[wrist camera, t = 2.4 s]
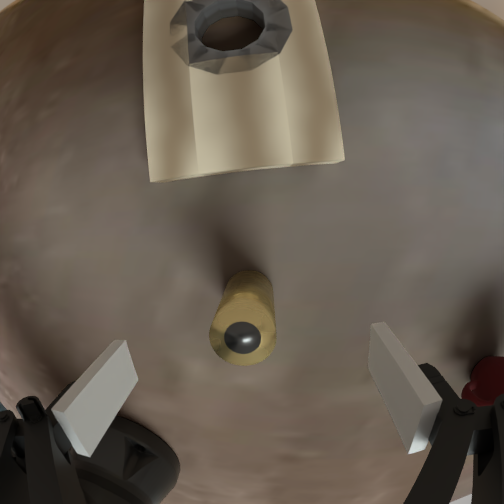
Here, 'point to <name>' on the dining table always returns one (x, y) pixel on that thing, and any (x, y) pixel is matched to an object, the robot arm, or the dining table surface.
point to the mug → (485, 382)
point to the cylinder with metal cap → (245, 320)
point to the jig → (236, 90)
